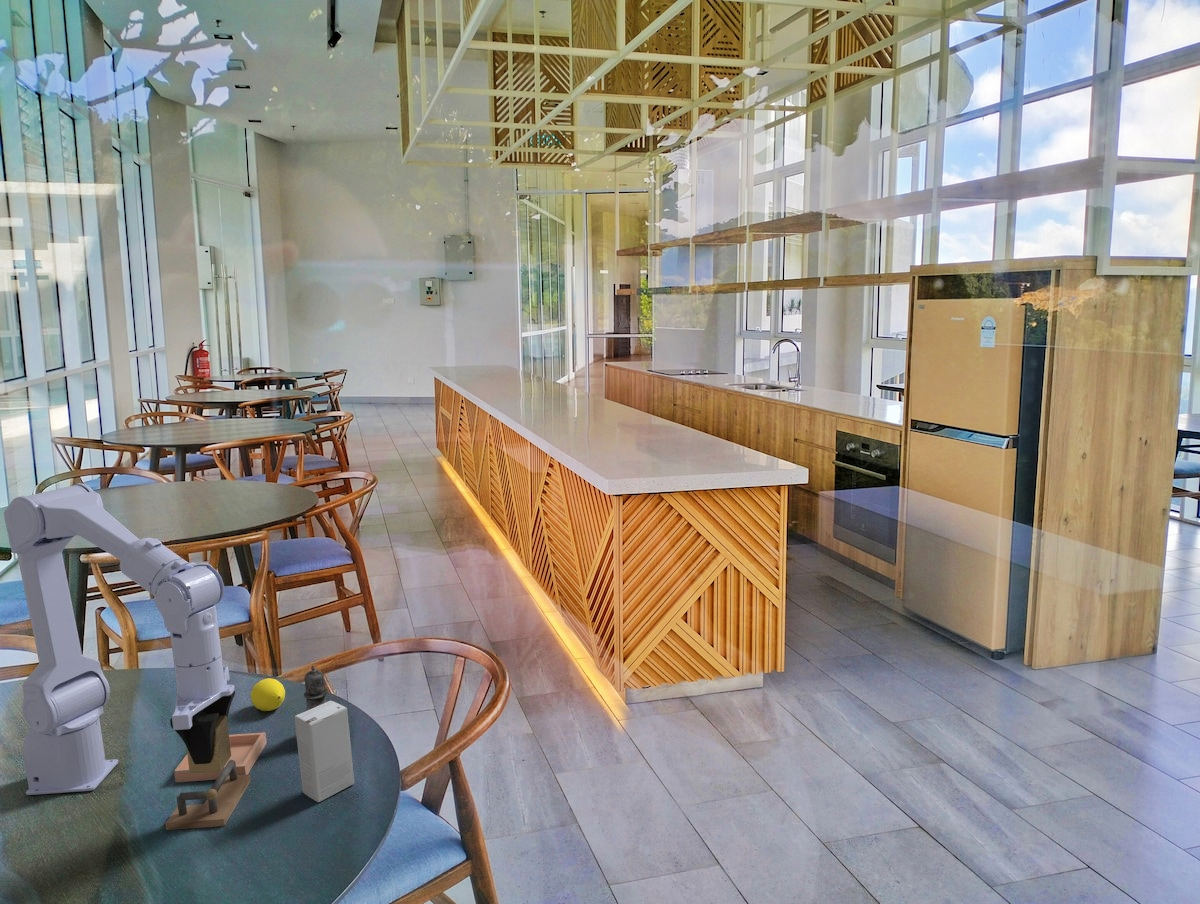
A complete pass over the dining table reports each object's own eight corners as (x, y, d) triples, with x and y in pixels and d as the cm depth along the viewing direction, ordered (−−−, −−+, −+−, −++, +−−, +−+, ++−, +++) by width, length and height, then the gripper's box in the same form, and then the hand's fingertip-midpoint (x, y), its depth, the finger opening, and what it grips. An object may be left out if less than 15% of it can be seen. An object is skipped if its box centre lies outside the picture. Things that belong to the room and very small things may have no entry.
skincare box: (338, 775, 126) (331, 697, 124) (356, 785, 123) (349, 706, 121) (300, 794, 122) (292, 714, 120) (318, 805, 119) (309, 723, 117)
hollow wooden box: (189, 773, 114) (184, 731, 113) (201, 757, 118) (196, 717, 117) (220, 771, 115) (215, 729, 113) (231, 755, 118) (226, 715, 117)
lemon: (246, 712, 148) (240, 682, 148) (275, 701, 152) (270, 671, 152) (266, 719, 143) (260, 688, 143) (296, 707, 147) (290, 676, 147)
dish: (175, 782, 126) (174, 771, 125) (201, 747, 136) (200, 736, 135) (246, 777, 127) (244, 766, 126) (266, 742, 136) (265, 732, 136)
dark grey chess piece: (327, 747, 134) (320, 674, 132) (293, 744, 136) (285, 672, 134) (345, 728, 140) (339, 658, 138) (312, 726, 141) (305, 657, 139)
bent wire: (166, 830, 114) (162, 801, 114) (197, 784, 125) (194, 757, 124) (224, 825, 115) (220, 797, 114) (250, 780, 126) (247, 753, 125)
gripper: (208, 680, 107) (220, 781, 109) (247, 635, 121) (257, 725, 123) (149, 683, 106) (163, 785, 109) (195, 638, 121) (206, 728, 123)
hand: (209, 753), depth 116 cm, fingers closed on hollow wooden box, 4 cm apart
